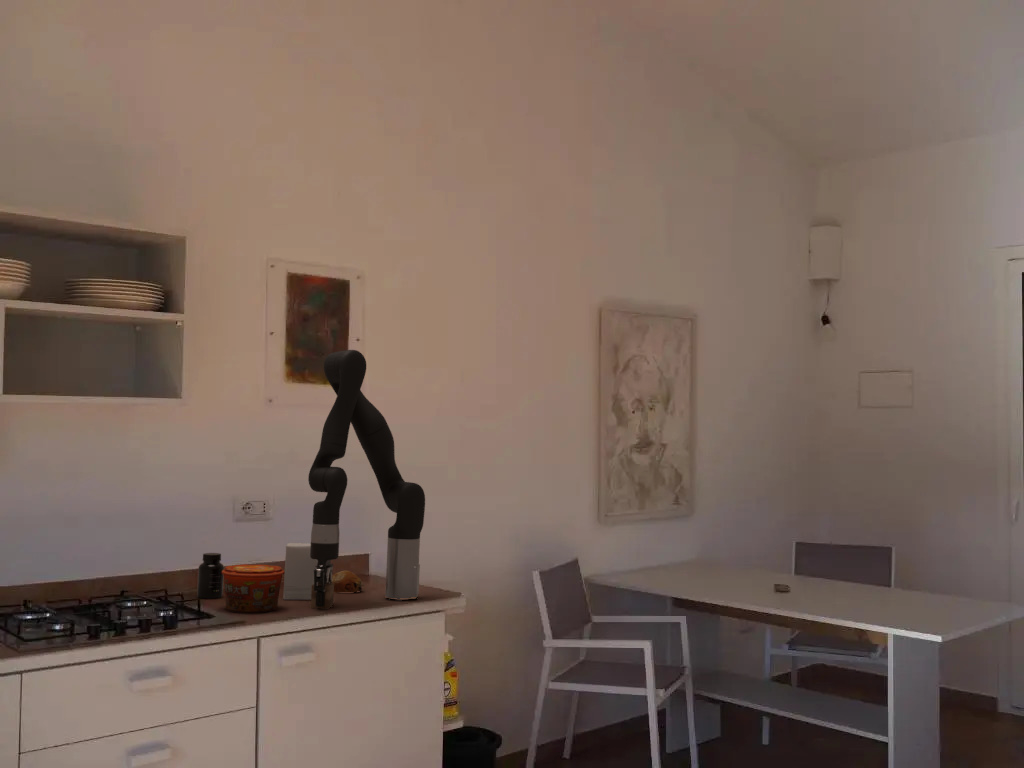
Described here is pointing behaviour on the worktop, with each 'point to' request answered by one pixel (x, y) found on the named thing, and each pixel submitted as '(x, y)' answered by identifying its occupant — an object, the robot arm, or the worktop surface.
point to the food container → (252, 587)
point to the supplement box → (298, 572)
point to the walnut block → (328, 596)
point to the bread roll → (346, 582)
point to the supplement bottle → (210, 577)
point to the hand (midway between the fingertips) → (322, 604)
